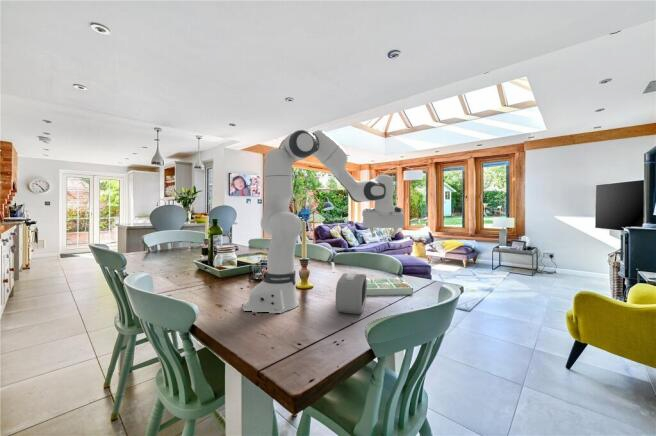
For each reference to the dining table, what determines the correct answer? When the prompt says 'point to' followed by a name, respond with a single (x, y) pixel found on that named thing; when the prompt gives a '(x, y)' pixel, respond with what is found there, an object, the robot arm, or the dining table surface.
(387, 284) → the cream egg
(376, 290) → the egg tray
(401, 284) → the brown egg
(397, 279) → the cream egg
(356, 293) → the alarm clock
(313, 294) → the dining table surface
